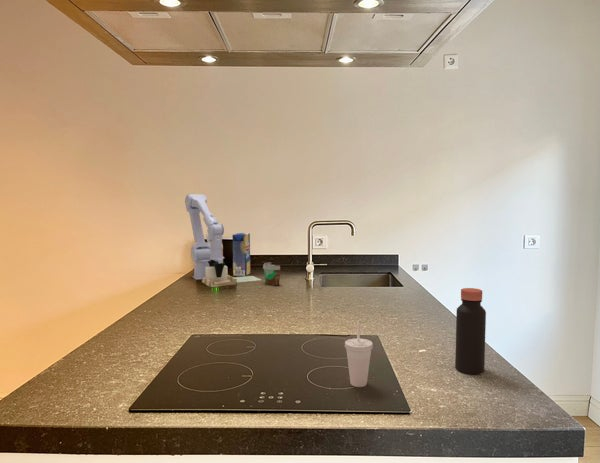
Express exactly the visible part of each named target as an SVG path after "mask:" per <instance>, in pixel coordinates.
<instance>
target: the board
mask: <svg viewBox="0 0 600 463" xmlns="http://www.w3.org/2000/svg"><path fill="white" fill-rule="evenodd" d="M234 278H236V279H237V284H238V283H247V282H248V283H249V282H256V281H261V282H263V279H261V278H258V277H257V276H254V275H246V276H238V277H234Z"/></svg>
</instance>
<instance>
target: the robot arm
mask: <svg viewBox="0 0 600 463" xmlns="http://www.w3.org/2000/svg"><path fill="white" fill-rule="evenodd" d="M207 199H208V198H207V196H206V195H205V193H202V194H201V193H200V194H199V193H197V194H195V193H193V194H191V193H188V194H186V195H185V199H184V204H185V209H186V211H187V212H188V213H189V220H190V223H191V228H192V236H193V240H194V244H193V245H192V246H191V248H190V257H191V259H192V261H193V262H194V264H193V275H192V276H191V277H192V279H195V280H202V277H204V278H206V276H205V267H209V265H210V267H213V266H214V267H215V271H216V276H217V278H218V277H221V276H222V271H223V268H224V266H226V263H225V262H224V259H225V256H223V257H222V244H223V235H224V233H225V229H224V226H223V223H220V222H219V221H218V219H217V218H216V216H215V215H214V213H213V212H211V211H210V209H209V207H208V205H207V203H208V200H207ZM200 214H202V216H203V217H202V220H203V222H204V224H205V226H206V227H207V233H208V235H209V239H210V245H209V244H208V243H207V241H205V234H204V231H203V230H204V229H203V225H202V220H201V215H200ZM210 260H211V261H210Z"/></svg>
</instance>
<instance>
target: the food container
mask: <svg viewBox="0 0 600 463" xmlns="http://www.w3.org/2000/svg"><path fill="white" fill-rule="evenodd" d="M262 269H263V272H264V274H263V275H264V283H265V285H266V286H273V287H279V286H280V275H281V265H280V264H279V265H278V264H277V265H276V264H272V262H270V261H269V262H264V263H263V265H262Z"/></svg>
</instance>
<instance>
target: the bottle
mask: <svg viewBox="0 0 600 463" xmlns="http://www.w3.org/2000/svg"><path fill="white" fill-rule="evenodd" d="M460 301H461V304H460V305H459V306H458V307H456V318H455V319H456V321H455V325H456V326H455V355H454V356H455V359H454V361H455V364H454V365H455V366H454V367H455V369H456V370H457V371H459V372H460V373H463V374H467V375H480V374H483V373H484V372H485V361H486V360H485V358H486V357H485V356H486V327H487V320H486V319H487V312H486V309H485V308H484V307H483V306H482V305H481V303H482V302H483V290H482V289H480V288H473V287H465V288H464V287H463V288H461V289H460Z"/></svg>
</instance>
